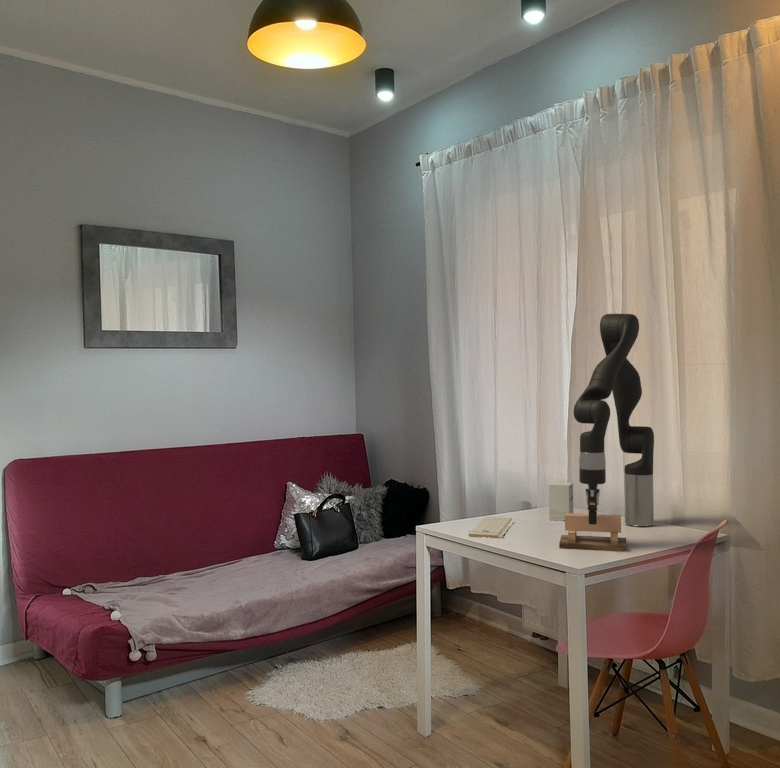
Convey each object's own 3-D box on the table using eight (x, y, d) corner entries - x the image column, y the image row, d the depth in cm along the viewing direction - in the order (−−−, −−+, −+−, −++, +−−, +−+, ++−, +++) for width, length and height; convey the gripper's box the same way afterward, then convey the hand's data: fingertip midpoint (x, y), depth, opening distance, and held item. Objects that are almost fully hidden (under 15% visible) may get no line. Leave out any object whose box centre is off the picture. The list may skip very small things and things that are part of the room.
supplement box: (569, 521, 260) (569, 485, 260) (548, 520, 263) (548, 484, 263) (574, 518, 267) (573, 482, 267) (553, 516, 270) (553, 481, 270)
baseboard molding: (519, 522, 263) (485, 521, 267) (519, 514, 263) (485, 512, 267) (506, 540, 233) (468, 538, 237) (506, 531, 233) (468, 529, 237)
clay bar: (620, 530, 222) (620, 515, 222) (621, 532, 218) (621, 517, 218) (565, 527, 227) (565, 513, 227) (565, 530, 223) (564, 515, 223)
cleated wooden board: (561, 539, 231) (561, 525, 231) (626, 542, 226) (625, 527, 226) (559, 548, 219) (559, 532, 219) (627, 551, 214) (627, 535, 214)
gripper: (605, 470, 215) (606, 526, 215) (605, 464, 228) (606, 517, 228) (578, 469, 217) (579, 525, 217) (580, 464, 230) (580, 516, 230)
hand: (592, 521), depth 223 cm, fingers open, 8 cm apart
